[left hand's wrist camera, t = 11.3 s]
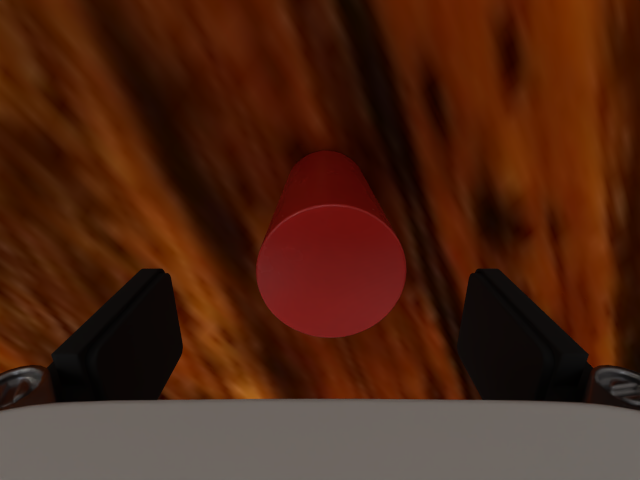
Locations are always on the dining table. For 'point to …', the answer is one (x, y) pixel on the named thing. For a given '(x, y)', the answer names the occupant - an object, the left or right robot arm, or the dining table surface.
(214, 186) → the dining table surface
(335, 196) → the tin
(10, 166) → the dining table surface
